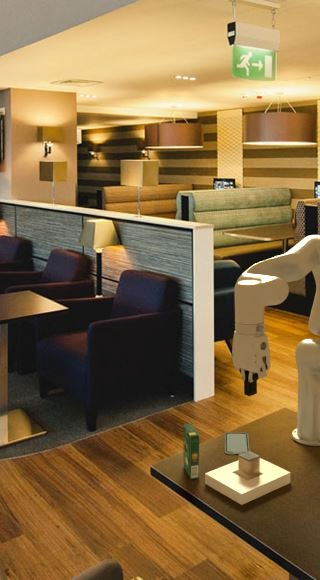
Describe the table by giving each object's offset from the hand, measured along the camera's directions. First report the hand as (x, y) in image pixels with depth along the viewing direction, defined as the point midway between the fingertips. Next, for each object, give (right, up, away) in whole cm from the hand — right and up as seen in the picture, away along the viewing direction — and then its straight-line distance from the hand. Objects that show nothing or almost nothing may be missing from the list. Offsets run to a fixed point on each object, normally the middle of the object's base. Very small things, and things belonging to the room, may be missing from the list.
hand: (250, 394), depth 166 cm
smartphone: (0, -20, +26) cm, 33 cm away
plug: (0, -24, +2) cm, 24 cm away
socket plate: (-1, -24, +1) cm, 24 cm away
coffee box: (-15, -24, +8) cm, 29 cm away
